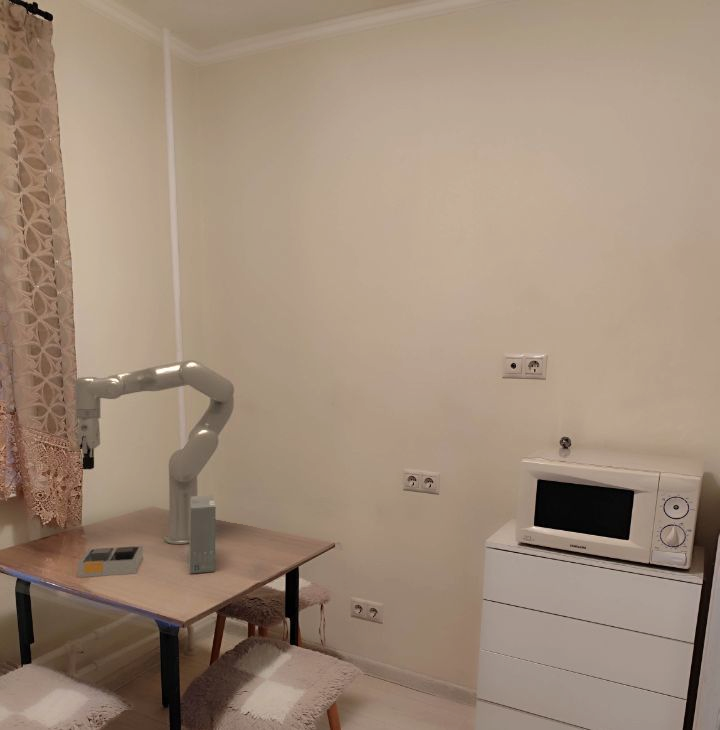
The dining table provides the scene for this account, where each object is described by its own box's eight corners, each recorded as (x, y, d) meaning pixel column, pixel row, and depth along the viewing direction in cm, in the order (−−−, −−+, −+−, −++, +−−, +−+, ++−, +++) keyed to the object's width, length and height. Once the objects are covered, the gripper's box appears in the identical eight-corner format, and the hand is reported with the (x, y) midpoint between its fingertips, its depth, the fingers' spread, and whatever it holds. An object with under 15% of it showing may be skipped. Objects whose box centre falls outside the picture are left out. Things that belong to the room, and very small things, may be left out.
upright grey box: (111, 562, 179) (111, 548, 179) (108, 567, 175) (108, 552, 175) (95, 563, 178) (95, 548, 178) (91, 568, 174) (91, 553, 174)
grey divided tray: (142, 557, 185) (142, 541, 185) (135, 573, 172) (135, 556, 172) (89, 561, 182) (89, 544, 182) (77, 577, 169) (77, 559, 169)
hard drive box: (215, 572, 174) (215, 506, 173) (189, 575, 172) (189, 508, 171) (213, 554, 189) (213, 494, 188) (189, 556, 187) (189, 495, 186)
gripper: (94, 416, 185) (95, 473, 186) (105, 411, 200) (105, 464, 200) (69, 416, 184) (69, 474, 184) (82, 411, 198) (82, 464, 199)
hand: (88, 468), depth 192 cm, fingers closed
